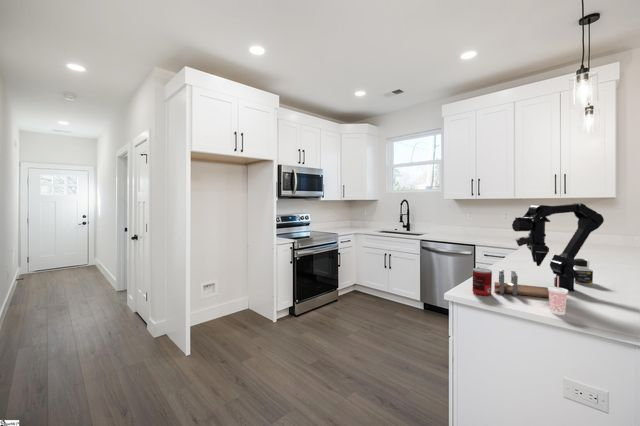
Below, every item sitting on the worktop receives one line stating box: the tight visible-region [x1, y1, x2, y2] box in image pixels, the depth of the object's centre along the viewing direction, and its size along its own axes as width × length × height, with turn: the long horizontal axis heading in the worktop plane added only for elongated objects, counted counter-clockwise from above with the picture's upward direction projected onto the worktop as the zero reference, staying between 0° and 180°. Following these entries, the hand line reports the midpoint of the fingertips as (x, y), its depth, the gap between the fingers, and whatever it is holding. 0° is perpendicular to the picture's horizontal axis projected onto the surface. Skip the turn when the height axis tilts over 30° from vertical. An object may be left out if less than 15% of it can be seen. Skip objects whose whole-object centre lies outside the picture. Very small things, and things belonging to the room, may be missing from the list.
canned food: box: [472, 267, 493, 297], centre depth 136 cm, size 8×8×11 cm
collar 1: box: [498, 269, 505, 296], centre depth 138 cm, size 2×10×10 cm, turn 152°
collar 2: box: [510, 270, 519, 297], centre depth 136 cm, size 2×10×9 cm, turn 152°
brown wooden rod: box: [493, 281, 549, 299], centre depth 134 cm, size 21×4×4 cm
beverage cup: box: [547, 276, 569, 316], centre depth 113 cm, size 6×6×14 cm
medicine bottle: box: [573, 258, 594, 286], centre depth 152 cm, size 7×7×12 cm
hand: (536, 263), depth 142 cm, fingers open, 9 cm apart
